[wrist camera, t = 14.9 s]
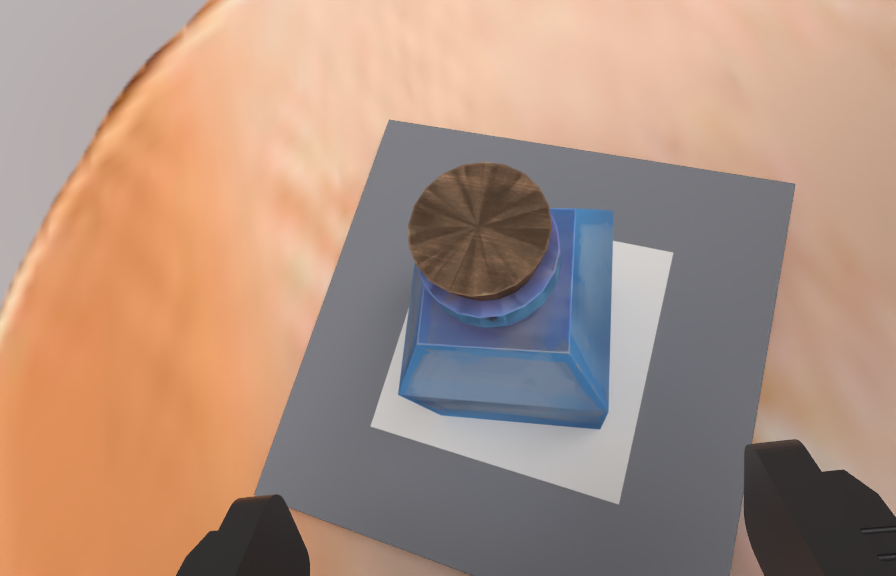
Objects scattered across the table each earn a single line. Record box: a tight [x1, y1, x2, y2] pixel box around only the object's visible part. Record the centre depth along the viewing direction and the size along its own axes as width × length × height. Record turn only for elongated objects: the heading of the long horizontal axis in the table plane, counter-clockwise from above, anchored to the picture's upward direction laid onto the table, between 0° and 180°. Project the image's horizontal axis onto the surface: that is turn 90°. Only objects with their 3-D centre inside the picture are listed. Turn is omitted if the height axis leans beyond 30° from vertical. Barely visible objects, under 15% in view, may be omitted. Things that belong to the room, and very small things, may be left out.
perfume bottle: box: [398, 162, 614, 429], centre depth 19 cm, size 6×6×12 cm
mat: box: [254, 120, 795, 576], centre depth 25 cm, size 18×18×1 cm
